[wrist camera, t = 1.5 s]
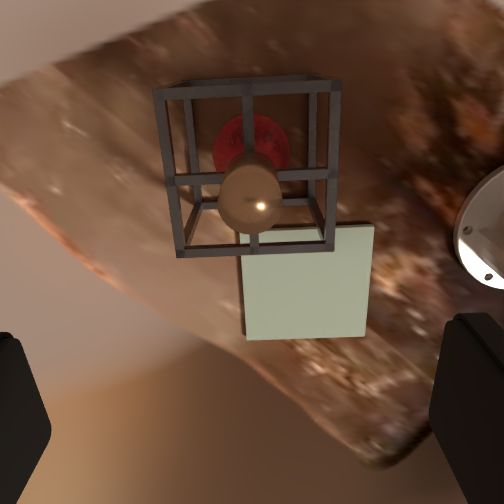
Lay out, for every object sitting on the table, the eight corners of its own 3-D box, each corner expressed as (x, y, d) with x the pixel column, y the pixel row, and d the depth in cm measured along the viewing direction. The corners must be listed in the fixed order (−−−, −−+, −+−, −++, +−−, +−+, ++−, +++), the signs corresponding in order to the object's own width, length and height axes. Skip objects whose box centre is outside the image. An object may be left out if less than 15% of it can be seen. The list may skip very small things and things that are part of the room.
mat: (372, 224, 36) (374, 226, 36) (363, 332, 42) (364, 336, 41) (239, 229, 37) (239, 232, 36) (246, 336, 42) (246, 340, 41)
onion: (211, 114, 32) (198, 130, 25) (282, 102, 32) (290, 115, 25) (224, 184, 35) (216, 217, 28) (290, 174, 34) (300, 204, 27)
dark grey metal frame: (316, 73, 31) (364, 84, 17) (314, 202, 36) (350, 291, 22) (182, 80, 31) (126, 97, 18) (196, 207, 36) (160, 298, 22)
